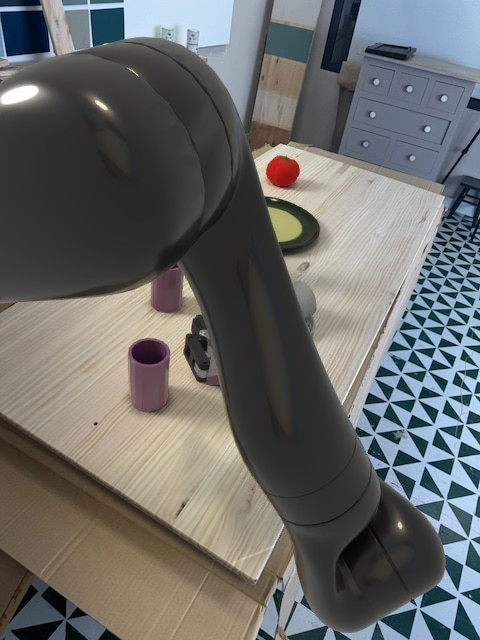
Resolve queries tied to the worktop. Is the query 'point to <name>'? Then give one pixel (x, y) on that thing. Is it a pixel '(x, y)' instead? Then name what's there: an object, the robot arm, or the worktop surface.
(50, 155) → the robot arm
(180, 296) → the far cup
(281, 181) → the tomato
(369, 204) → the worktop surface
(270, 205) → the plate
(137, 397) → the pair cup
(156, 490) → the worktop surface
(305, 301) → the ceramic mug
